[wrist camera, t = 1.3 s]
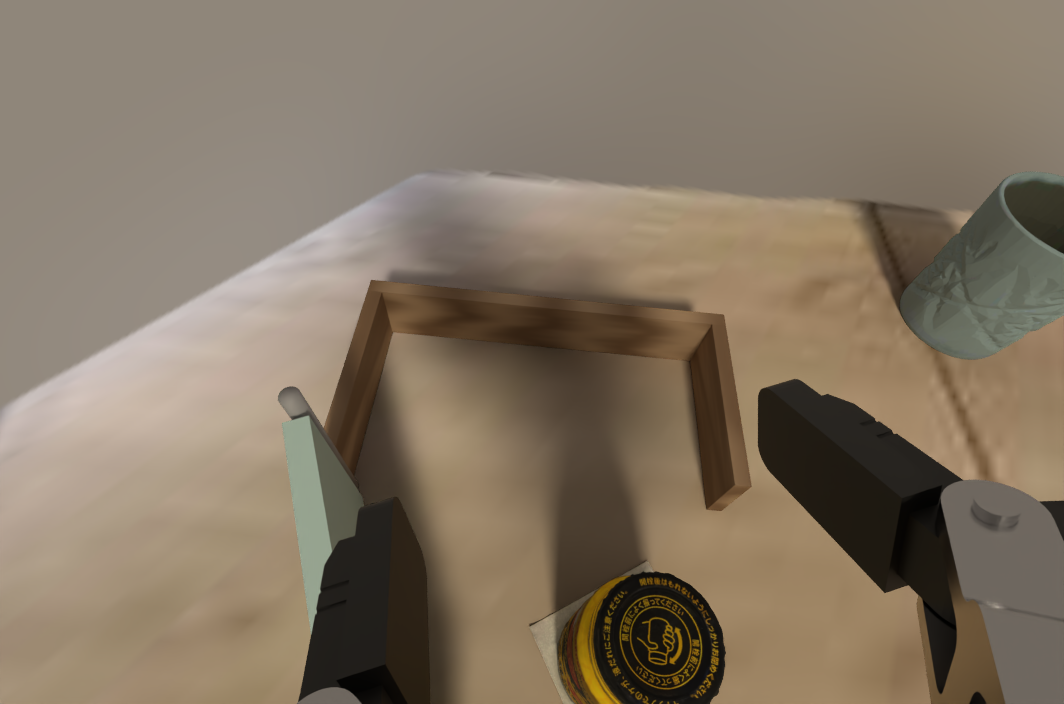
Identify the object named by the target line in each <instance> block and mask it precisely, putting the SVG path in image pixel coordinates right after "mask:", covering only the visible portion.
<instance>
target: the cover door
mask: <svg viewBox="0 0 1064 704" xmlns="http://www.w3.org/2000/svg"><path fill="white" fill-rule="evenodd" d="M278 401H279V403H280V404H281V405H282V407H283V408H284V409H285V411H286V412H287V414H288V415H289V416H290V418H291V419H292V420H291V421H288V422H284V423H282V428H283V435H284V442H285V449H286V457H287V464H288V471H289V478H290V486H291V493H292V500H293V507H294V515H295V522H296V529H297V536H298V544H299V551H300V558H301V565H302V573H303V580H304V587H305V594H306V602H307V609H308V616H309V623H310V630H311V634H312V628H313V623H314V618H315V614H317V610H316V607H317V602H318V596H319V594H320V593H321V590H320V586H321V580H322V575H323V570H324V565H325V563H326V561H327V560H328V558H329V556H330V555H331V553H332V551H333V550H334V548H335V546H336V545H337V543H338V541H340V540H343V539H346V538H349V537H353V536H355V531H356V524H357V516H358V511H359V509H360V507H363V506H364V503H363V498H362V496H361V494H360V492H359V491H358V487H359V484H358V482H357V480H356V479H355V477H354V476H353V474H352V472H351V471H350V469H349V468H348V466H347V465H346V463H345V461H344V460H343V458H342V457H341V455H340V454H339V452H338V450H337V449H336V447H335V446H334V444H333V442H332V441H331V439H330V438H329V436H328V435H327V433H326V431H325V430H324V428H323V427H322V425H321V424H320V422H319V420H318V419H317V417H316V416H315V414H314V412H313V411H312V409H311V408H310V406H309V405H308V403H307V401H306V400H305V398H304V397H303V395H302V394H301V392H300V390H299V389H298V388H296V387H287V388H284V389H283V390H282V391H281V392H280V393H279V395H278Z"/></svg>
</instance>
